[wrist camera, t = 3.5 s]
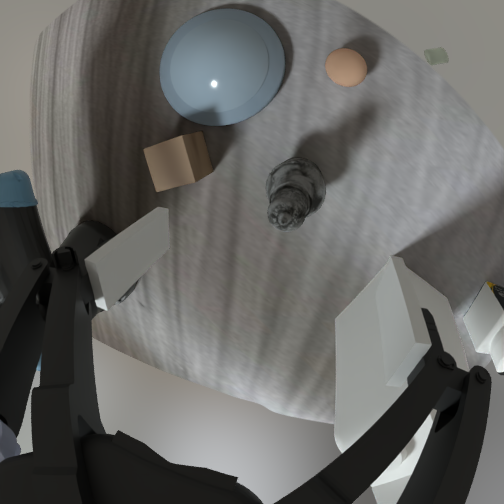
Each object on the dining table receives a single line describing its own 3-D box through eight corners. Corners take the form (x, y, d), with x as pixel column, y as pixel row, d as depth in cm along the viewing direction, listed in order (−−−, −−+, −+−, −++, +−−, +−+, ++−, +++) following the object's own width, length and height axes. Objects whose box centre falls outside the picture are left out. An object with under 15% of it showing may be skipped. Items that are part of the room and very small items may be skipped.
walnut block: (177, 180, 33) (156, 192, 29) (166, 142, 31) (143, 149, 27) (213, 171, 31) (195, 182, 27) (202, 130, 29) (181, 135, 25)
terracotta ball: (323, 84, 24) (322, 79, 20) (327, 49, 22) (327, 40, 18) (361, 92, 23) (367, 89, 20) (366, 57, 21) (372, 49, 18)
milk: (391, 349, 37) (396, 514, 15) (334, 318, 37) (312, 510, 15) (447, 298, 31) (497, 476, 9) (392, 256, 30) (436, 480, 8)
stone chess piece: (272, 153, 29) (239, 179, 18) (327, 157, 27) (328, 185, 17) (271, 204, 31) (242, 256, 21) (323, 209, 30) (321, 264, 20)
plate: (161, 122, 30) (155, 123, 28) (171, 17, 23) (165, 14, 21) (277, 132, 27) (275, 133, 26) (291, 13, 20) (290, 8, 19)
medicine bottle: (512, 289, 27) (545, 344, 17) (489, 325, 31) (513, 382, 20) (485, 279, 28) (520, 339, 18) (461, 318, 31) (485, 380, 21)
